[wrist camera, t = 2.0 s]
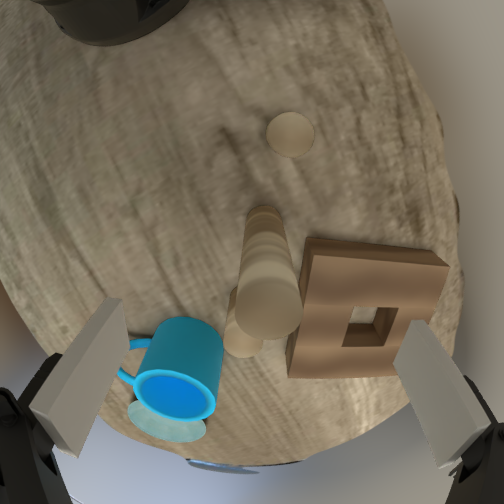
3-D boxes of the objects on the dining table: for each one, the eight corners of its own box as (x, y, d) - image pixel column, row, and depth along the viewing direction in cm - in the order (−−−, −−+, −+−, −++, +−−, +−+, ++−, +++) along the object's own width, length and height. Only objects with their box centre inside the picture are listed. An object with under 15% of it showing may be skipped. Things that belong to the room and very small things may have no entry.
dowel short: (267, 113, 23) (269, 109, 18) (305, 118, 23) (316, 115, 18) (264, 150, 24) (265, 155, 19) (301, 154, 24) (311, 160, 20)
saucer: (218, 405, 37) (217, 417, 35) (195, 439, 41) (193, 449, 39) (137, 375, 35) (132, 387, 33) (127, 415, 40) (123, 425, 38)
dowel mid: (230, 283, 29) (223, 326, 23) (263, 286, 29) (264, 329, 23) (229, 310, 30) (222, 356, 24) (260, 312, 30) (260, 359, 24)
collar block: (306, 237, 27) (313, 255, 23) (431, 250, 27) (450, 266, 24) (285, 353, 32) (287, 377, 29) (393, 353, 33) (404, 374, 29)
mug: (226, 322, 31) (218, 378, 23) (221, 373, 34) (213, 426, 27) (121, 304, 31) (90, 351, 23) (128, 356, 34) (106, 403, 26)
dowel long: (247, 203, 26) (236, 281, 13) (283, 207, 26) (308, 287, 13) (244, 238, 27) (232, 337, 14) (279, 241, 27) (297, 341, 14)
